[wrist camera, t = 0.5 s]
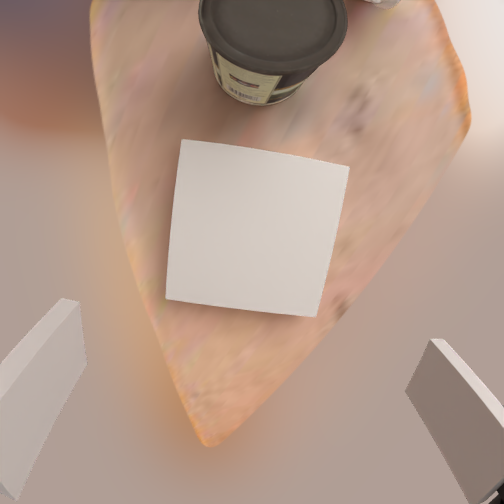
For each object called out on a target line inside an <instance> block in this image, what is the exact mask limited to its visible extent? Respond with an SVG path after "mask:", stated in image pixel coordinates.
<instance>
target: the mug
mask: <svg viewBox="0 0 504 504" xmlns="http://www.w3.org/2000/svg"><path fill="white" fill-rule="evenodd" d="M364 1H368V2H372V3H373V4H374V5H375V6H377V7H380V8H382V9H390V8H392V7H394V6H396V5H397V4H398V3H399V1H400V0H364Z"/></svg>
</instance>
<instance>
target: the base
mask: <svg viewBox="0 0 504 504" xmlns="http://www.w3.org/2000/svg"><path fill="white" fill-rule="evenodd" d="M349 168H350V167H347V166H343V165H339V164H334V163H330V162H325V161H320V160H315V159H310V158H305V157H300V156H295V155H290V154H284V153H279V152H273V151H267V150H261V149H255V148H248V147H242V146H235V145H228V144H220V143H213V142H205V141H196V140H187V139H182V141H181V147H180V154H179V161H178V169H177V177H176V184H175V193H174V201H173V211H172V220H171V230H170V241H169V253H168V266H167V280H166V297H165V299H169V300H176V301H183V302H189V303H196V304H204V305H211V306H219V307H226V308H234V309H242V310H251V311H260V312H269V313H278V314H287V315H298V316H308V317H316V315H317V312H318V308H319V304H320V300H321V296H322V292H323V289H324V285H325V281H326V276H327V272H328V268H329V264H330V260H331V256H332V251H333V247H334V243H335V238H336V234H337V229H338V224H339V220H340V215H341V210H342V205H343V200H344V195H345V190H346V185H347V179H348V174H349Z"/></svg>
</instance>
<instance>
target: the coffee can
mask: <svg viewBox="0 0 504 504" xmlns="http://www.w3.org/2000/svg"><path fill="white" fill-rule="evenodd" d="M198 15H199V23H200V26H201V29H202V31H203V34H204V36H205V38H206V40H207V44H208V48H209V52H210V56H211V59H212V63H213V70H214V74H215V77H216V80H217V81H218V83H219V85H220V86H221V87H222V89H223V90H224V91H225V92H226V93H227V94H228V95H230V96H231V97H233V98H235V99H236V100H238V101H241V102H243V103H247V104H250V105H259V106H266V105H272V104H276V103H279V102H281V101H284V100H286V99H287V98H289V97H290V96H292V95H293V94H294V93H295V92H296V91H297V90H298V89H299V88H300V86H301V85H302V83H303V82H304V81H305V80H306V79H307V78H308V77H309V76H310V75H311V74H312V73H313V72H314V71H315V70H316V69H317V68H318V67H319V66H320V65H321V64H323V63H324V62H326V61H327V60H328V59H329V58H330V57H331V56H333V55H334V54H335V52H336V51H337V50H338V49H339V47H340V46H341V44H342V43H343V40H344V38H345V35H346V32H347V22H348V21H347V12H346V8H345V5H344V2H343V0H200V3H199V10H198Z"/></svg>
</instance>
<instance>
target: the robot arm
mask: <svg viewBox="0 0 504 504" xmlns="http://www.w3.org/2000/svg"><path fill="white" fill-rule="evenodd" d="M86 366H87V359H86V352H85V344H84V337H83V329H82V321H81V311H80V302H78V301H73V300H68V299H64V298H61V299H60V300H59V301H58V302H57V303H56V304H55V305H54V306H53V307H52V308H51V309H50V310H49V311H48V312H47V313H46V314H45V315H44V316H43V318H41V319H40V321H39V322H38V323H37V324H36V325H35V326H34V327H33V328H32V329H31V330H30V331H29V332H28V333H27V334H26V335H25V337H24V338H23V339H22V340H21V341H20V342H19V343H18V344H17V345H16V346H15V347H14V349H13V350H12V351H11V352H10V353H9V354H8V355H7V357H6V358H5V359H4V360H3V361H2V362H1V363H0V493H1V494H4V495H5V496H7V497H9V498H11V499H13V500H15V501H18V498H19V496H20V494H21V492H22V489H23V487H24V485H25V483H26V480H27V478H28V476H29V474H30V472H31V469H32V467H33V465H34V463H35V461H36V459H37V457H38V455H39V453H40V451H41V449H42V447H43V445H44V443H45V441H46V439H47V437H48V435H49V433H50V431H51V429H52V427H53V425H54V423H55V421H56V420H57V418H58V416H59V413H60V412H61V410H62V408H63V406H64V405H65V403H66V401H67V399H68V397H69V396H70V394H71V392H72V390H73V388H74V387H75V385H76V383H77V381H78V379H79V378H80V376H81V374H82V373H83V371H84V369H85V367H86ZM405 392H406V394H407V395H408V397H409V399H410V400H411V402H412V404H413V405H414V407H415V408H416V410H417V412H418V414H419V415H420V417H421V418H422V420H423V422H424V424H425V425H426V427H427V429H428V430H429V432H430V434H431V436H432V437H433V439H434V441H435V442H436V444H437V446H438V448H439V449H440V451H441V453H442V455H443V457H444V458H445V460H446V462H447V464H448V465H449V467H450V469H451V471H452V473H453V474H454V476H455V478H456V480H457V482H458V484H459V485H460V487H461V489H462V491H463V493H464V495H465V497H466V499H467V500H468V502H469V504H480V503H482V502H484V501H486V500H487V499H488V498H489V497H490V496H491V495H492V494H493V493H494V492H495V491H496V490H497V491H498V493H499V494H498V495H497V496H496V497H495V498H494V499H493V500H492V501H491V502H490V503H489V504H504V406H503V405H502V404H501V403H500V402H499V401H498V400H497V399H496V398H495V396H494V395H493V394H492V393H491V392H490V390H489V389H488V388H487V387H486V386H485V385H484V384H483V382H482V381H481V380H480V379H479V378H478V377H477V375H476V374H475V373H474V372H473V371H472V370H471V369H470V368H469V367H468V365H467V364H466V363H465V362H464V361H463V360H462V359H461V358H460V356H459V355H458V354H456V352H455V351H454V350H453V349H452V348H451V347H450V346H449V345H448V344H447V342H446V341H445V340H444V339H430V340H429V342H428V345H427V347H426V349H425V351H424V354H423V356H422V358H421V360H420V362H419V364H418V366H417V368H416V370H415V372H414V374H413V376H412V378H411V380H410V382H409V384H408V386H407V388H406V390H405Z"/></svg>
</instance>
